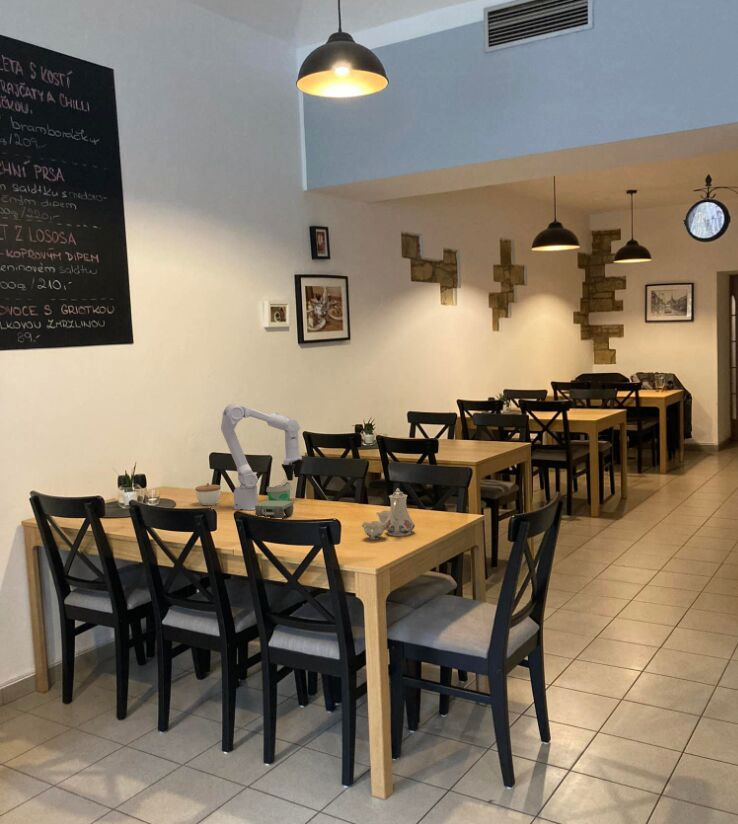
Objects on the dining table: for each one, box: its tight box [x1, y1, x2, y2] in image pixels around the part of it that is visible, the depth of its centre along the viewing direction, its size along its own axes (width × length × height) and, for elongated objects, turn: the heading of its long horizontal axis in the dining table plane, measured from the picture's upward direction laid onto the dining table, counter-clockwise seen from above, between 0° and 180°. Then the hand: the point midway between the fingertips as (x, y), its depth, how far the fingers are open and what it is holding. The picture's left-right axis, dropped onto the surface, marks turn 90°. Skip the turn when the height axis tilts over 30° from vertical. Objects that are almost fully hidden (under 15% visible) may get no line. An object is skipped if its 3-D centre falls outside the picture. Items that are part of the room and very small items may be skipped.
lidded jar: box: [194, 482, 222, 506], centre depth 350 cm, size 11×11×9 cm
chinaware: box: [361, 487, 416, 541], centre depth 286 cm, size 28×17×17 cm, turn 167°
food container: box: [265, 481, 292, 501], centre depth 335 cm, size 12×6×10 cm, turn 143°
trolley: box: [254, 499, 294, 519], centre depth 318 cm, size 12×15×6 cm
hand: (293, 478), depth 346 cm, fingers open, 7 cm apart
